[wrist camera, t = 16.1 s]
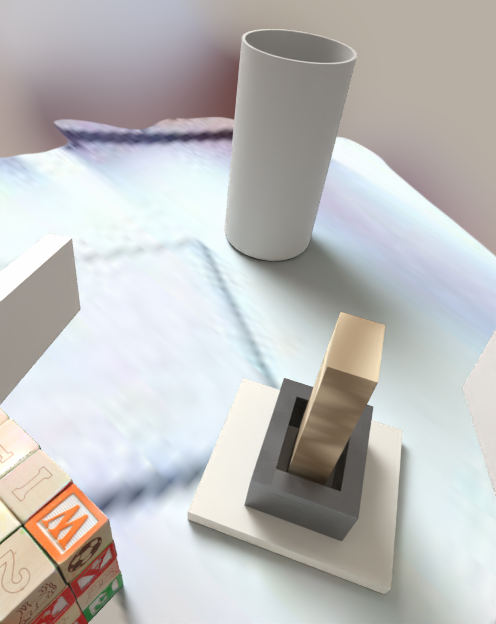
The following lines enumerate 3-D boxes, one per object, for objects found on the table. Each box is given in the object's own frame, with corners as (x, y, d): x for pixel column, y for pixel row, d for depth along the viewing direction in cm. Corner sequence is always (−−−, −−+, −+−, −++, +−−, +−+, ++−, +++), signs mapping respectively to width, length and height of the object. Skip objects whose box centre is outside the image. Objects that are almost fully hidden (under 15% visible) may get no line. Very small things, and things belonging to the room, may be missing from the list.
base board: (187, 519, 36) (187, 511, 35) (241, 387, 46) (243, 378, 45) (384, 594, 34) (391, 588, 33) (397, 438, 44) (402, 430, 43)
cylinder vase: (265, 275, 59) (302, 70, 42) (206, 229, 65) (218, 33, 48) (326, 244, 66) (379, 56, 49) (267, 205, 72) (296, 26, 55)
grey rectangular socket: (244, 505, 36) (250, 479, 33) (276, 406, 43) (284, 377, 40) (341, 541, 35) (358, 518, 32) (358, 434, 42) (373, 406, 39)
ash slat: (281, 487, 37) (327, 366, 26) (295, 437, 41) (340, 311, 30) (316, 500, 37) (377, 382, 26) (327, 448, 40) (385, 325, 29)
